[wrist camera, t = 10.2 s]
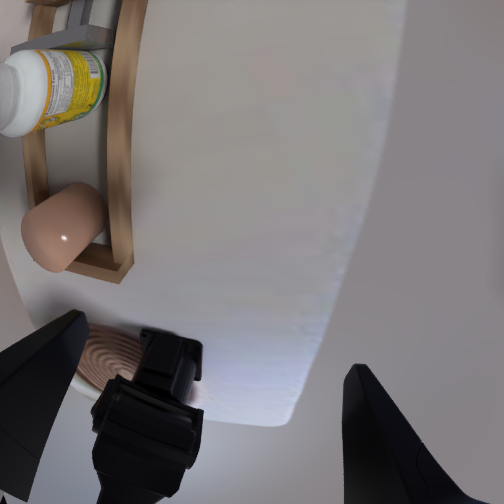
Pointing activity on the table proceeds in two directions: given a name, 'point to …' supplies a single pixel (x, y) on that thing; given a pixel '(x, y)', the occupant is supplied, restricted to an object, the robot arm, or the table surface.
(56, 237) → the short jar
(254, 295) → the table surface
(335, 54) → the table surface
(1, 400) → the robot arm
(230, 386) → the table surface
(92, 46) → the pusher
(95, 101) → the supplement bottle
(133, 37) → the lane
